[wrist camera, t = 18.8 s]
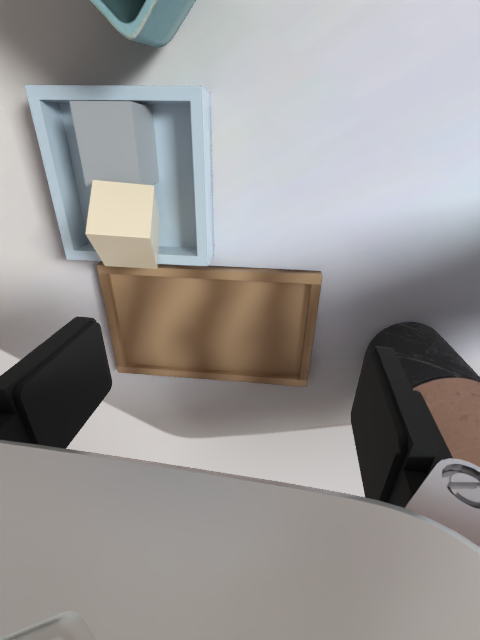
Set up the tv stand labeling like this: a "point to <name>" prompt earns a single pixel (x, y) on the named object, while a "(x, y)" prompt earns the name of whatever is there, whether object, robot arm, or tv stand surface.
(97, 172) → the gray block
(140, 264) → the cream rectangular block
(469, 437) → the travel mug
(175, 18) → the flower pot
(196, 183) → the light blue tray
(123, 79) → the tv stand surface
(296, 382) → the walnut tray
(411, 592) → the robot arm
